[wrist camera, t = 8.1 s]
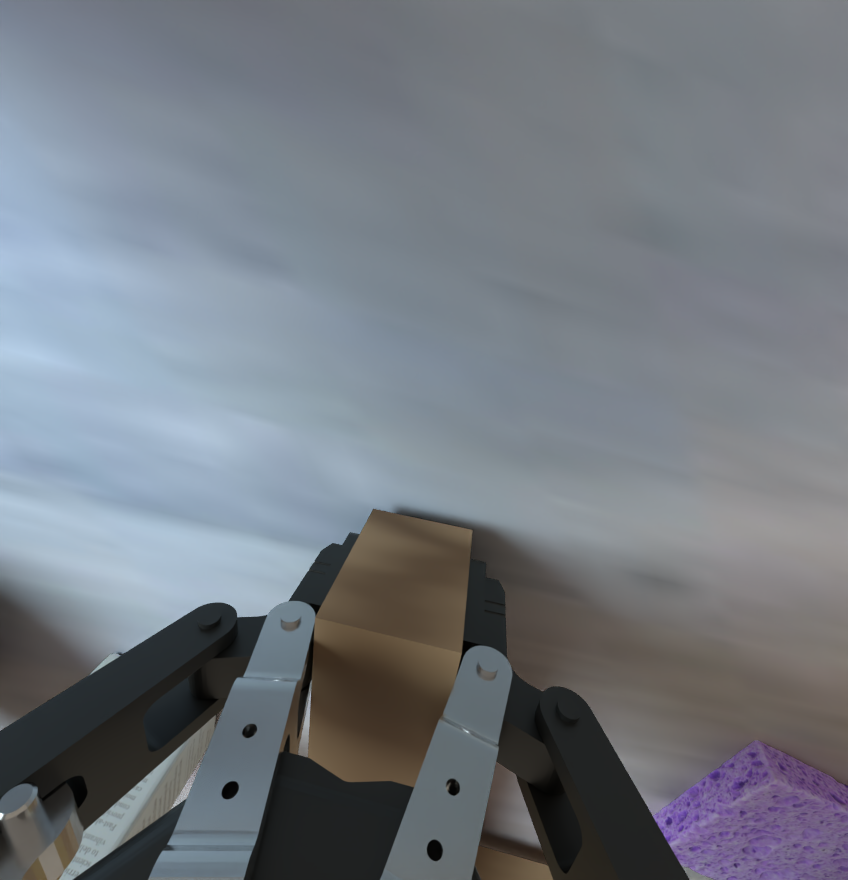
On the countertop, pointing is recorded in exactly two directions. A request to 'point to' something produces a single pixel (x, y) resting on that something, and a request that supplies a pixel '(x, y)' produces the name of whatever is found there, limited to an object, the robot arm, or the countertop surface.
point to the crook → (394, 659)
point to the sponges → (761, 820)
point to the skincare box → (140, 800)
